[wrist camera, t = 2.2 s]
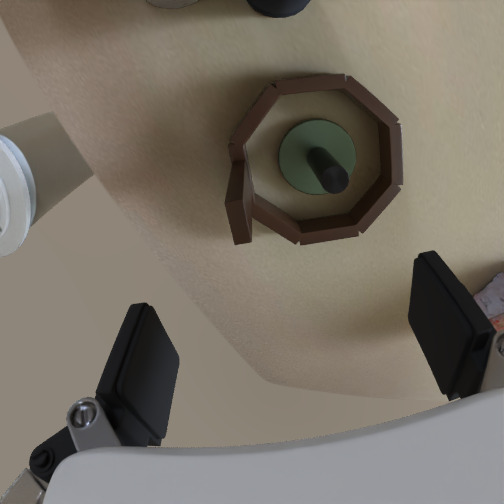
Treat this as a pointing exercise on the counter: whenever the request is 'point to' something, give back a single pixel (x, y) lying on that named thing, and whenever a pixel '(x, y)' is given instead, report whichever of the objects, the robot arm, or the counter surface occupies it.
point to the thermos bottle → (171, 3)
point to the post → (317, 157)
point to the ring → (325, 228)
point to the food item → (493, 301)
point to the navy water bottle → (278, 7)
